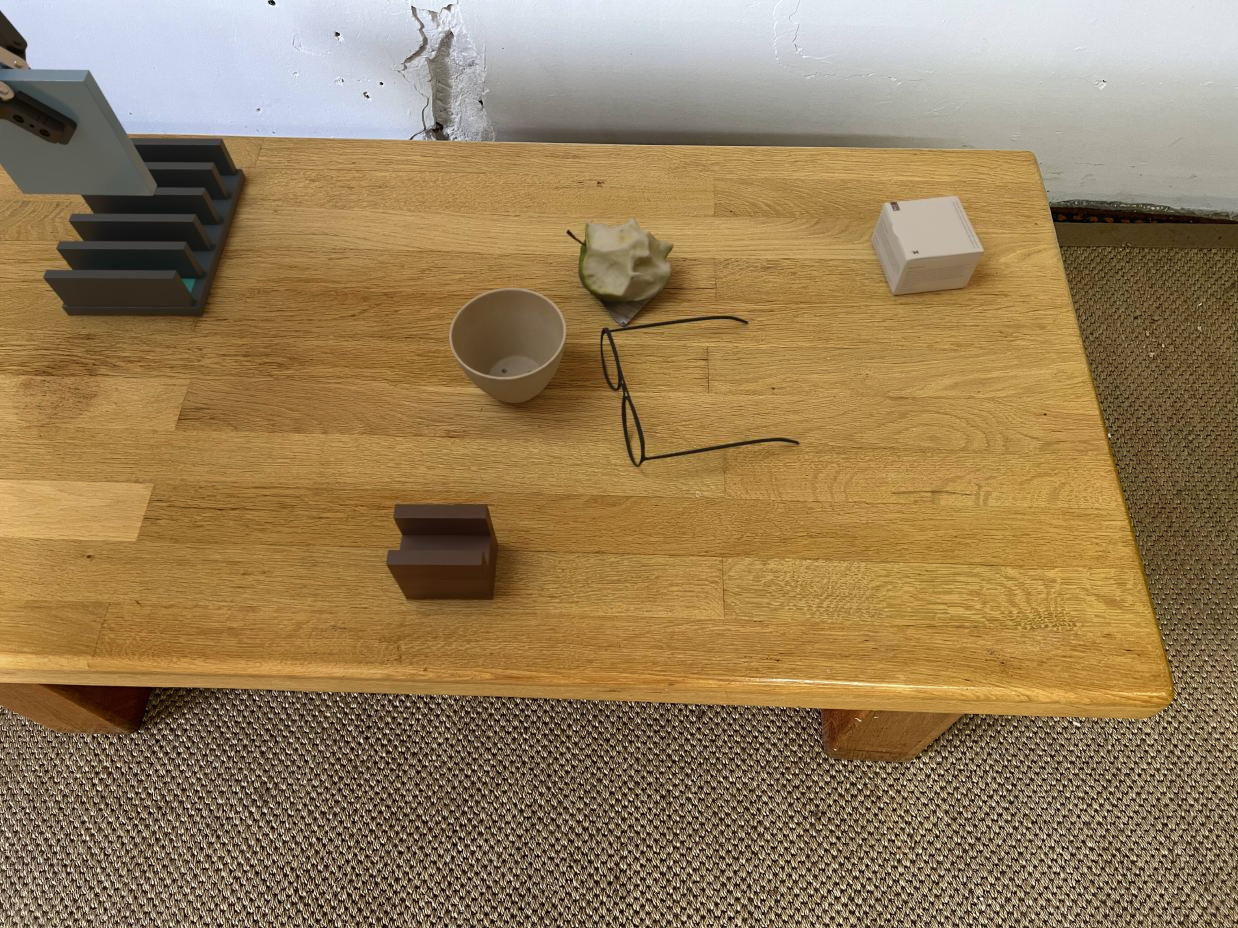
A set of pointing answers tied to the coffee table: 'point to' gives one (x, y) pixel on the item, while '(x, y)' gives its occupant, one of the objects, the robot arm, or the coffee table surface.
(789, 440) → the glasses
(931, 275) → the small box
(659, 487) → the coffee table surface
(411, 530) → the stand
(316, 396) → the coffee table surface
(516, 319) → the flower pot
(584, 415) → the coffee table surface
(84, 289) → the rack
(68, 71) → the plate
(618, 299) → the fruit
